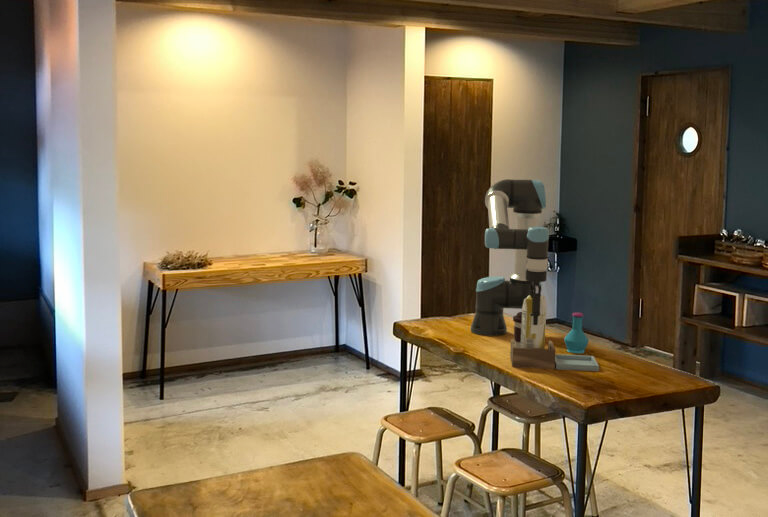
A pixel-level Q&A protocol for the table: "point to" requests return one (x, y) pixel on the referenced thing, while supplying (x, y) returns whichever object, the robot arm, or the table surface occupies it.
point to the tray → (576, 362)
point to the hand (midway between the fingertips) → (533, 330)
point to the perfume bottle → (576, 336)
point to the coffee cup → (517, 328)
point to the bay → (533, 356)
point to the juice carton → (526, 336)
